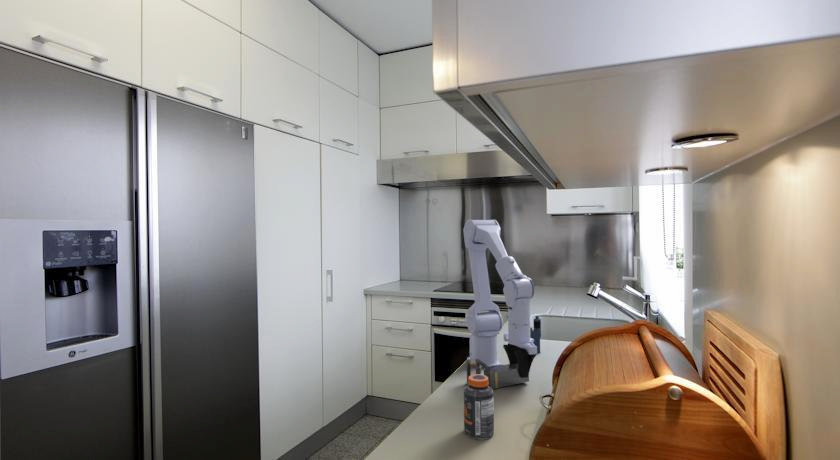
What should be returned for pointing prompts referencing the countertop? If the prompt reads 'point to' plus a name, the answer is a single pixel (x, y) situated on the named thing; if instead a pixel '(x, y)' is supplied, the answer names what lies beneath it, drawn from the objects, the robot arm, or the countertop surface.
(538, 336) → the vaping device
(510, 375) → the gray rectangular prism
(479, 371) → the dark grey rectangular frame
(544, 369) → the countertop surface
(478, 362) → the bracket
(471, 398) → the pill bottle
